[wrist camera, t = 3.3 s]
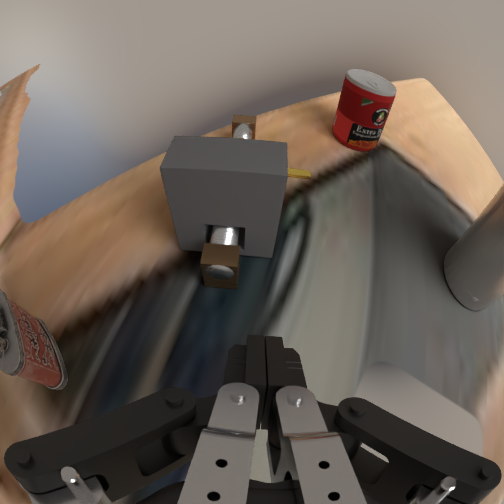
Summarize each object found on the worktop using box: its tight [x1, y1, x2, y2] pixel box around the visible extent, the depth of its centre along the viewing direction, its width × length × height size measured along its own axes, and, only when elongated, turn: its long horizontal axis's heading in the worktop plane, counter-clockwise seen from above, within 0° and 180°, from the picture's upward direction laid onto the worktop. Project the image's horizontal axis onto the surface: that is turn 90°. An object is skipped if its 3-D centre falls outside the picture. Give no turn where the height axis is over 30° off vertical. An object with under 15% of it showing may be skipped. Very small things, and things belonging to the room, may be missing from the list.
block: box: [160, 136, 288, 258], centre depth 25 cm, size 4×9×11 cm, turn 86°
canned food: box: [333, 69, 396, 151], centre depth 37 cm, size 8×8×11 cm
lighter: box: [0, 290, 68, 390], centre depth 17 cm, size 8×3×10 cm, turn 43°
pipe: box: [200, 115, 311, 289], centre depth 31 cm, size 23×18×4 cm
